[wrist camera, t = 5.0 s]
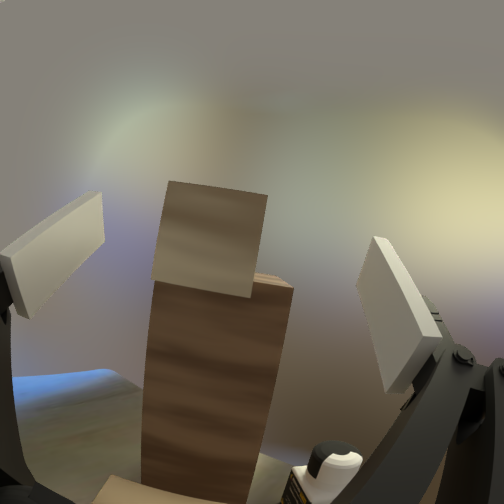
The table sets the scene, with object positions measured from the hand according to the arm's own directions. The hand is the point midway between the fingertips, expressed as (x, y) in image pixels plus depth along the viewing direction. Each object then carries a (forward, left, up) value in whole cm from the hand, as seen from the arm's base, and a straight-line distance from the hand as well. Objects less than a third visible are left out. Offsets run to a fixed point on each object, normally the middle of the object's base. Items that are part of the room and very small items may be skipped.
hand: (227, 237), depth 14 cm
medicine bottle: (+10, +18, -32) cm, 39 cm away
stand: (-5, +16, -32) cm, 36 cm away
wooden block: (-3, +10, -2) cm, 11 cm away
